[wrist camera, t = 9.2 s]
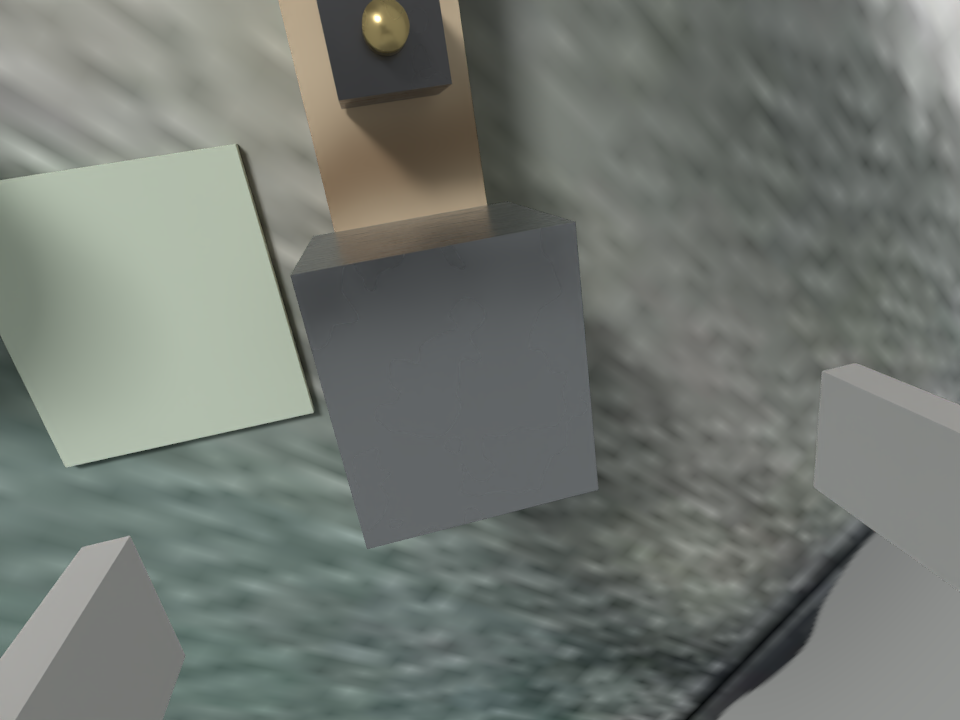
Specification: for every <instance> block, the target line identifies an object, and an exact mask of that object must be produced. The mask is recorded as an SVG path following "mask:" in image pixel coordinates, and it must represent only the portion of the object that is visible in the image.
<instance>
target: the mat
mask: <svg viewBox="0 0 960 720" xmlns="http://www.w3.org/2000/svg"><path fill="white" fill-rule="evenodd" d="M0 336H1V338H2V340H3V342H4V344H5V346H6V348H7V350H8V352H9V354H10V356H11V358H12V360H13V362H14V364H15V366H16V368H17V370H18V372H19V374H20V376H21V378H22V380H23V382H24V384H25V386H26V388H27V390H28V392H29V394H30V397H31V399H32V401H33V403H34V405H35V407H36V409H37V411H38V413H39V415H40V417H41V419H42V421H43V423H44V425H45V427H46V429H47V431H48V433H49V435H50V437H51V439H52V441H53V443H54V445H55V447H56V449H57V451H58V453H59V455H60V457H61V459H62V461H63V463H64V465H65V467H70V466H75V465H79V464H84V463H88V462H93V461H98V460H102V459H107V458H111V457H116V456H120V455H125V454H129V453H134V452H138V451H143V450H147V449H152V448H156V447H161V446H165V445H170V444H174V443H179V442H184V441H188V440H193V439H197V438H202V437H206V436H211V435H215V434H220V433H224V432H229V431H233V430H238V429H242V428H247V427H251V426H256V425H260V424H265V423H270V422H274V421H279V420H283V419H288V418H292V417H297V416H301V415H306V414H310V413H314V406H313V403H312V399H311V396H310V392H309V389H308V385H307V382H306V379H305V375H304V372H303V368H302V365H301V361H300V358H299V354H298V351H297V348H296V344H295V341H294V337H293V334H292V330H291V327H290V323H289V320H288V317H287V313H286V310H285V306H284V303H283V299H282V296H281V292H280V289H279V286H278V282H277V279H276V275H275V272H274V268H273V265H272V261H271V258H270V255H269V251H268V248H267V244H266V241H265V237H264V234H263V230H262V227H261V224H260V220H259V217H258V213H257V210H256V206H255V203H254V199H253V196H252V193H251V189H250V186H249V182H248V179H247V175H246V172H245V168H244V165H243V162H242V158H241V155H240V151H239V148H238V144H231V145H225V146H218V147H212V148H205V149H199V150H192V151H186V152H179V153H173V154H166V155H160V156H153V157H147V158H141V159H134V160H128V161H121V162H115V163H108V164H102V165H95V166H89V167H82V168H76V169H69V170H63V171H56V172H50V173H44V174H37V175H31V176H24V177H18V178H11V179H5V180H0Z"/></svg>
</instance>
